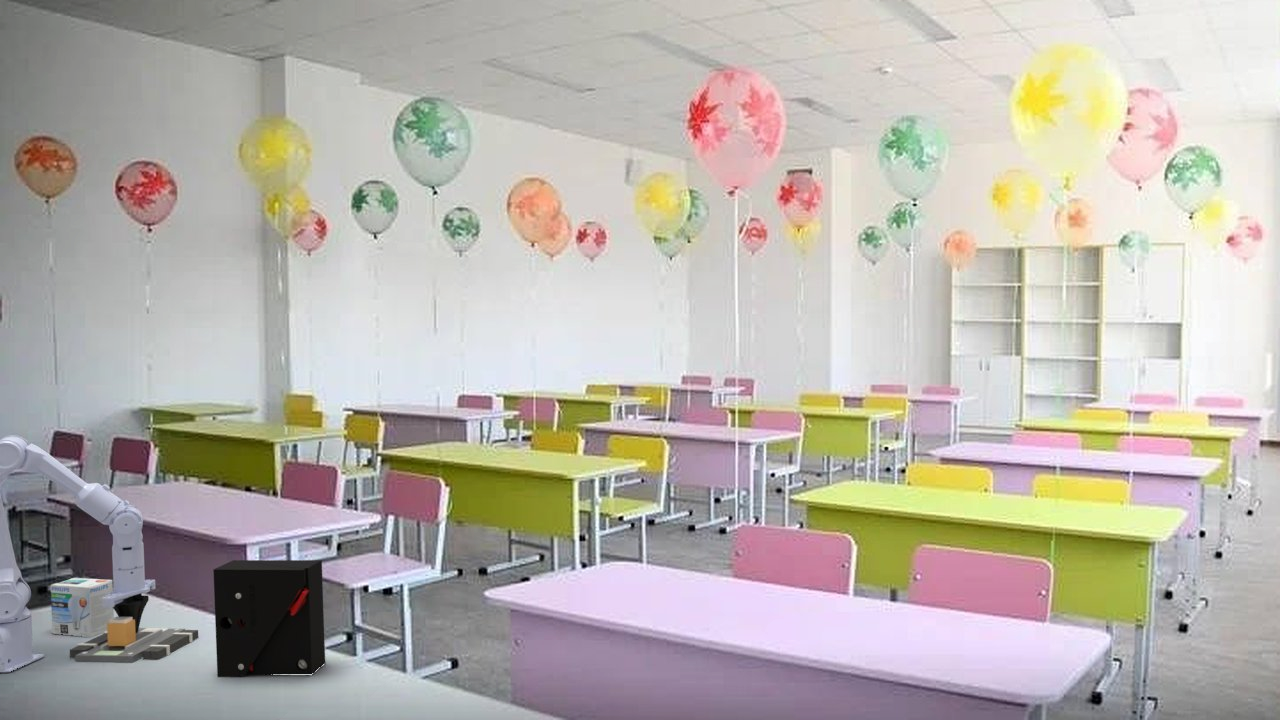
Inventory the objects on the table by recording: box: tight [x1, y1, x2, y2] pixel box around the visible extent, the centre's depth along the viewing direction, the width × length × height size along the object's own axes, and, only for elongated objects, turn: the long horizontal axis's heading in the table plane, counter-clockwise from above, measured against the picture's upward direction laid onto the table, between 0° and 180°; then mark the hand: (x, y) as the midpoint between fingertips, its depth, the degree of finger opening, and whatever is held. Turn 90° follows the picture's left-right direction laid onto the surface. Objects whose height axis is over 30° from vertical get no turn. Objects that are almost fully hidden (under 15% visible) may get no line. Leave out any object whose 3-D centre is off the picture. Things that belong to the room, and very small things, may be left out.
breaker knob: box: [107, 616, 136, 646], centre depth 205 cm, size 3×4×5 cm
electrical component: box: [212, 559, 326, 678], centre depth 193 cm, size 18×10×20 cm, turn 84°
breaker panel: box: [74, 627, 186, 664], centre depth 209 cm, size 18×12×2 cm, turn 173°
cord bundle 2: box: [142, 629, 199, 661], centre depth 208 cm, size 14×4×2 cm, turn 173°
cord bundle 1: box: [69, 631, 108, 659], centre depth 210 cm, size 14×4×2 cm, turn 173°
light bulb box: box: [50, 577, 115, 638], centre depth 221 cm, size 11×7×11 cm, turn 73°
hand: (131, 633), depth 209 cm, fingers closed
